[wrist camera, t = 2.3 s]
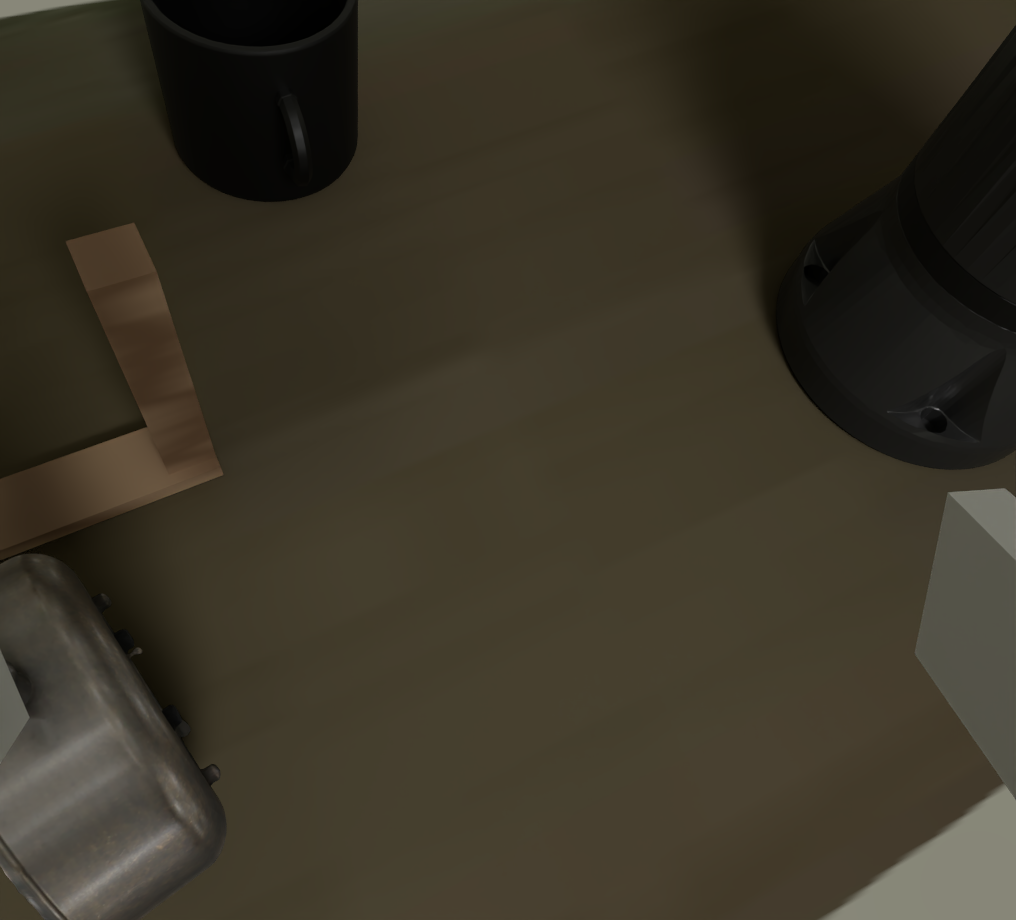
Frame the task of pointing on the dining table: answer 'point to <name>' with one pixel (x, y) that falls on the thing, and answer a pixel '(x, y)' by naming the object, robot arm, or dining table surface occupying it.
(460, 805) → the dining table surface
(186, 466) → the slalom posts
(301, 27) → the mug
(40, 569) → the alarm clock
